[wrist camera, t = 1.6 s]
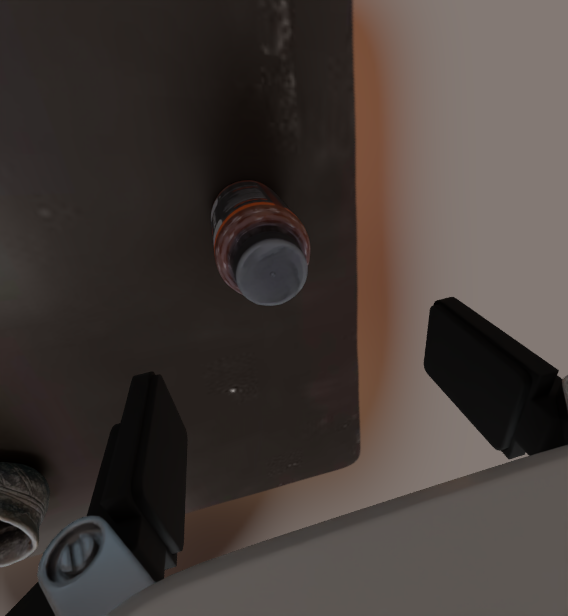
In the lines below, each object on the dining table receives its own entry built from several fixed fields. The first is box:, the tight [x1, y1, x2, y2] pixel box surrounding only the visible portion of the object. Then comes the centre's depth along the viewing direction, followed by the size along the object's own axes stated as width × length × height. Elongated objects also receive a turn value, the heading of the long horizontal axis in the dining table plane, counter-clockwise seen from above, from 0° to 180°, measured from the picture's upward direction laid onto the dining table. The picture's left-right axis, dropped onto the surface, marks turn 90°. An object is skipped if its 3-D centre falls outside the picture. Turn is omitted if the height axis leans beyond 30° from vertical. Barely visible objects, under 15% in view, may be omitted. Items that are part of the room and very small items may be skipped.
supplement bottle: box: [211, 180, 310, 306], centre depth 22 cm, size 6×6×11 cm
